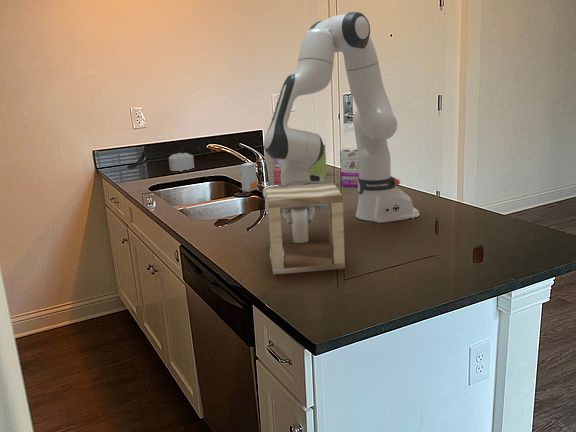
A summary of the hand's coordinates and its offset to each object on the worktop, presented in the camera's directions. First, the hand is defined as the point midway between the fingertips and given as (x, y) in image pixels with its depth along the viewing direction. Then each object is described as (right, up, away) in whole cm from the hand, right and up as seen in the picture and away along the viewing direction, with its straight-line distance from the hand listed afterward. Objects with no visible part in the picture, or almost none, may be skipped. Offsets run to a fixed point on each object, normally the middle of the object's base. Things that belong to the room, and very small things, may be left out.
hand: (300, 222), depth 177 cm
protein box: (+6, +20, +104) cm, 106 cm away
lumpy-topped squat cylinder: (-61, +27, +143) cm, 158 cm away
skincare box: (-21, +13, +85) cm, 89 cm away
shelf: (+2, -11, -6) cm, 13 cm away
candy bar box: (+26, +15, +82) cm, 87 cm away
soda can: (-5, +11, +73) cm, 74 cm away
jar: (0, -6, +2) cm, 6 cm away
